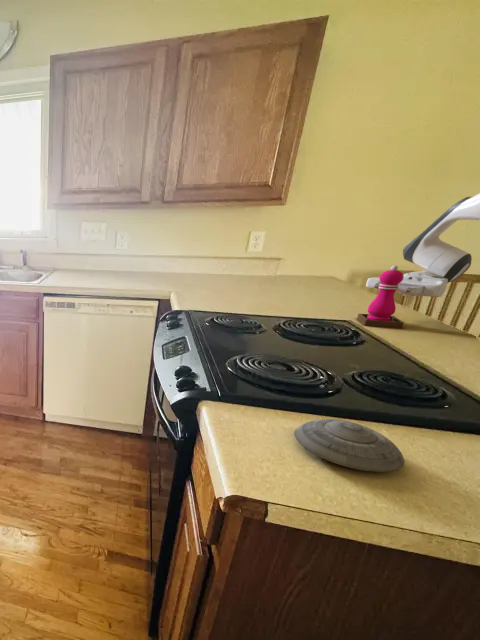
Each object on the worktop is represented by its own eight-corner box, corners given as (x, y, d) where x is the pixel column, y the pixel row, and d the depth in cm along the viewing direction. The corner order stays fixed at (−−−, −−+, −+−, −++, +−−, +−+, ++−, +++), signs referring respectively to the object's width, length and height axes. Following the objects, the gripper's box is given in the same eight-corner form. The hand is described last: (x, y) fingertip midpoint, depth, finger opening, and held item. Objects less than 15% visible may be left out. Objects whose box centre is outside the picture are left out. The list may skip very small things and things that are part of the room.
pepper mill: (378, 324, 139) (397, 267, 132) (358, 319, 146) (375, 264, 138) (396, 323, 140) (416, 266, 133) (375, 318, 146) (393, 263, 139)
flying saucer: (325, 424, 79) (332, 399, 77) (422, 465, 66) (433, 437, 64) (273, 440, 74) (279, 415, 73) (366, 488, 61) (377, 458, 59)
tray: (392, 321, 144) (393, 315, 144) (402, 328, 136) (404, 322, 135) (356, 318, 149) (358, 313, 148) (364, 325, 141) (366, 319, 140)
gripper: (380, 272, 151) (359, 275, 147) (454, 279, 134) (433, 283, 129) (375, 288, 154) (354, 292, 149) (447, 297, 136) (426, 302, 131)
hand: (391, 288), depth 139 cm, fingers open, 8 cm apart
